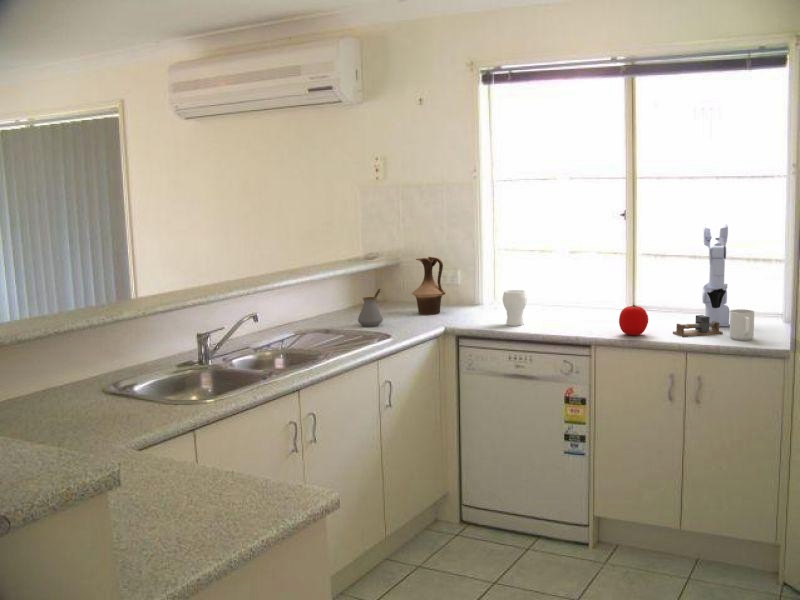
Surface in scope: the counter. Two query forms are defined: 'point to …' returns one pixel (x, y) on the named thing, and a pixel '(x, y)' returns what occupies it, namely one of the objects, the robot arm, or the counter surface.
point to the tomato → (633, 320)
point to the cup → (514, 306)
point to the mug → (741, 324)
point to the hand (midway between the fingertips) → (715, 307)
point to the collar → (702, 323)
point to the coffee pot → (370, 312)
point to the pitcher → (429, 288)
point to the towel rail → (687, 333)
